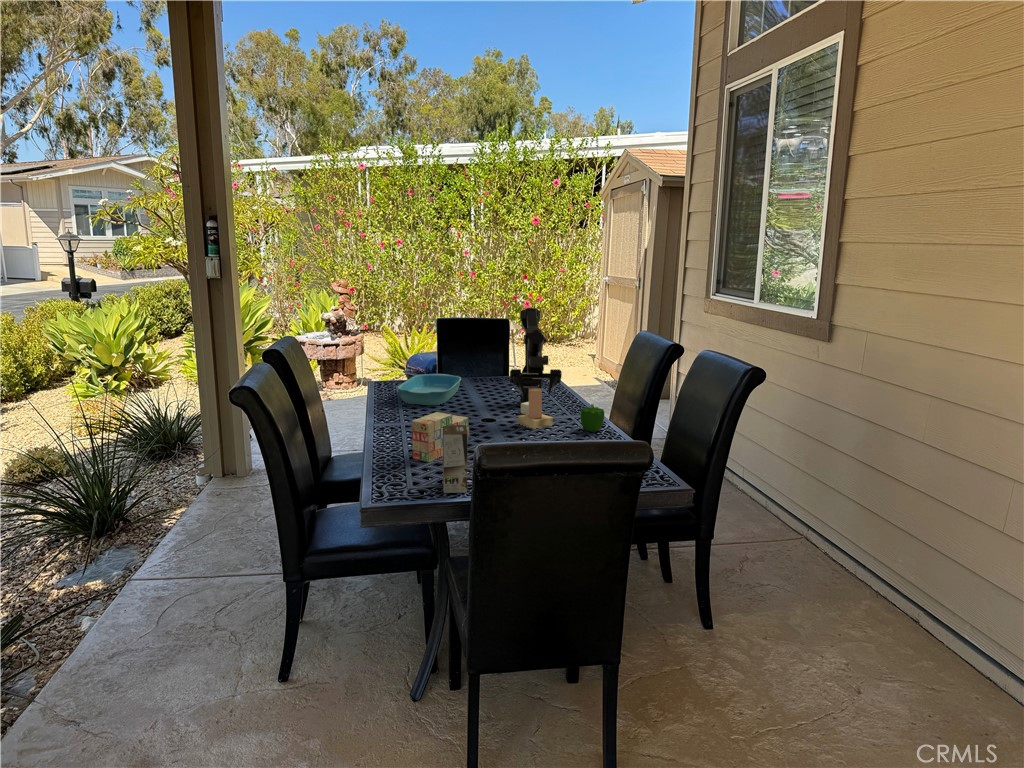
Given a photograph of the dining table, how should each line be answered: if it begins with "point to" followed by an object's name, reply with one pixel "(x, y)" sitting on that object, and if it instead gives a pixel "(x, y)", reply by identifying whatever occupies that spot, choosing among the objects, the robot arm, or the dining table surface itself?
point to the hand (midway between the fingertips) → (536, 395)
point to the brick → (525, 408)
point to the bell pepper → (592, 418)
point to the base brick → (535, 421)
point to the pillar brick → (535, 403)
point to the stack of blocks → (433, 434)
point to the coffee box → (455, 458)
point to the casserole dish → (429, 389)
